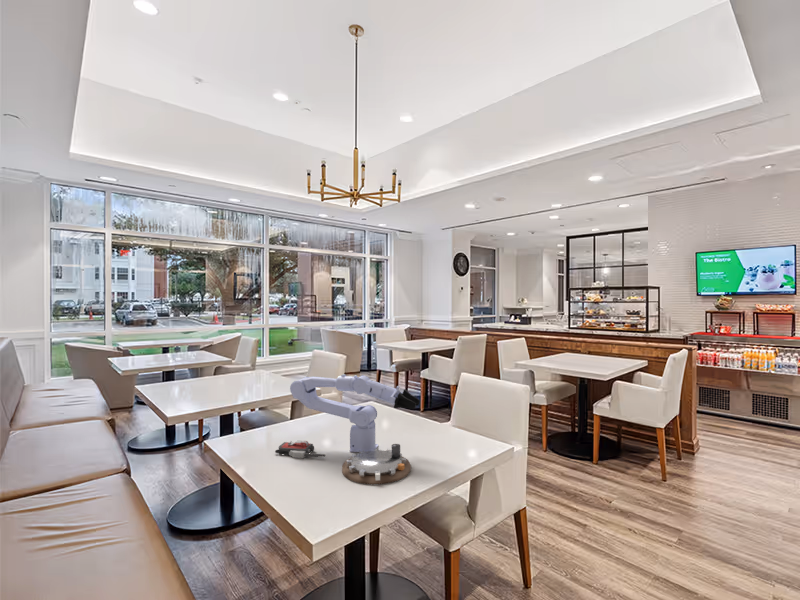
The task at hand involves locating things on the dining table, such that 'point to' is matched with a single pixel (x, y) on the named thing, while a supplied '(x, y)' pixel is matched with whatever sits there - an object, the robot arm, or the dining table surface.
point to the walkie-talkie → (298, 449)
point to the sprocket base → (376, 475)
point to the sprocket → (377, 462)
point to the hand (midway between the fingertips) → (417, 404)
